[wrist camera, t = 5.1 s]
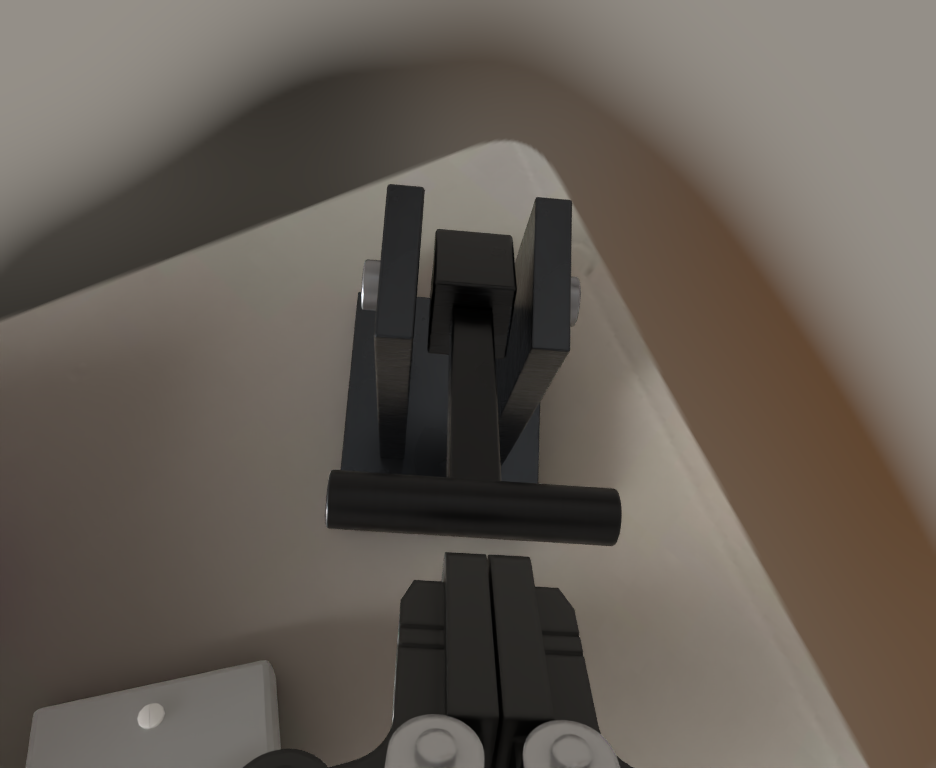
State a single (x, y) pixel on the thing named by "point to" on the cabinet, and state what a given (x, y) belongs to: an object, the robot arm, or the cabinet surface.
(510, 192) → the cabinet surface
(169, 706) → the light switch
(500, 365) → the bracket
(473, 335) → the lever
